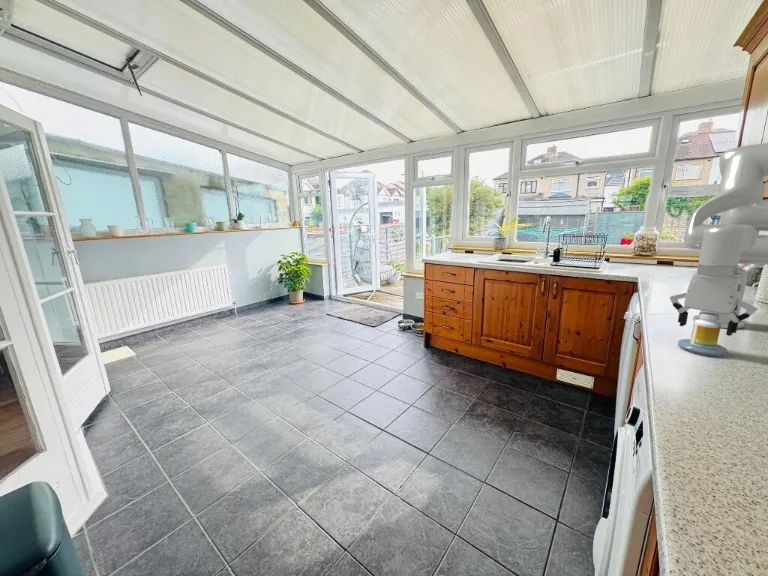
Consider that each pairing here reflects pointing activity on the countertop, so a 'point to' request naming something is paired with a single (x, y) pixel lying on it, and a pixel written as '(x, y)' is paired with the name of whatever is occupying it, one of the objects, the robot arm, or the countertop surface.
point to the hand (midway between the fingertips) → (705, 329)
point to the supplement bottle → (706, 330)
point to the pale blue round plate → (702, 349)
